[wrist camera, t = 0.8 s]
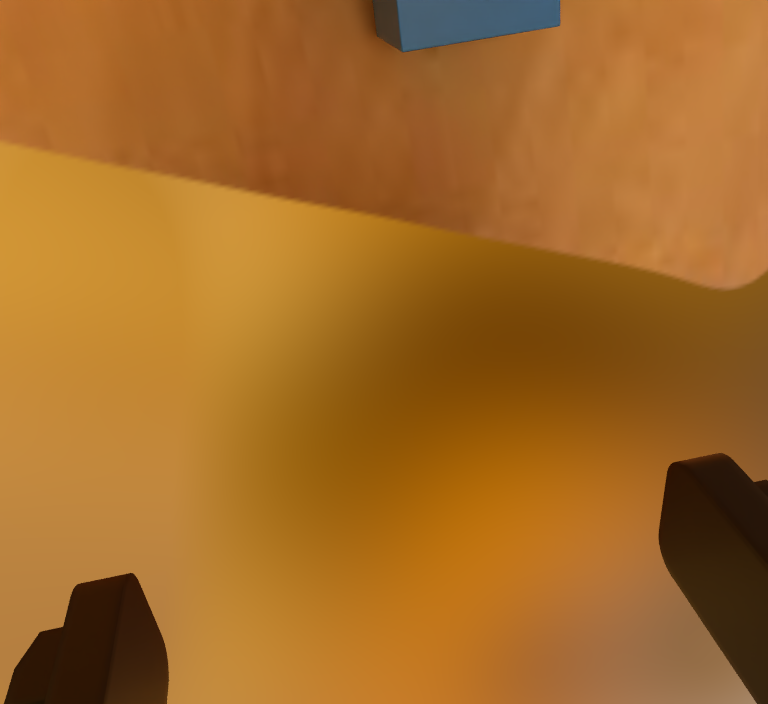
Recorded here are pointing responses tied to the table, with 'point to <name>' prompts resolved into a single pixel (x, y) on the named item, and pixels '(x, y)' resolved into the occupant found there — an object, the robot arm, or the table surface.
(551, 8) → the cube
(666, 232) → the table surface
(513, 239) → the table surface
